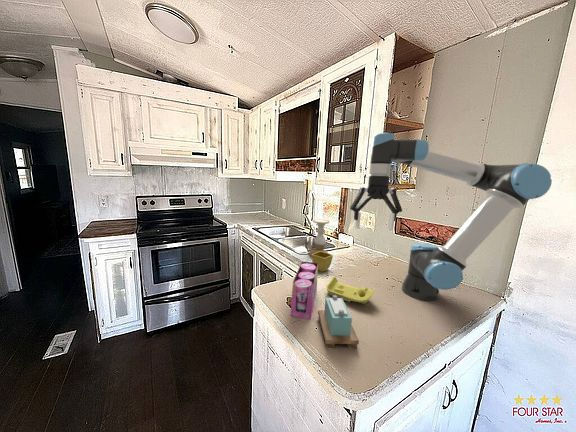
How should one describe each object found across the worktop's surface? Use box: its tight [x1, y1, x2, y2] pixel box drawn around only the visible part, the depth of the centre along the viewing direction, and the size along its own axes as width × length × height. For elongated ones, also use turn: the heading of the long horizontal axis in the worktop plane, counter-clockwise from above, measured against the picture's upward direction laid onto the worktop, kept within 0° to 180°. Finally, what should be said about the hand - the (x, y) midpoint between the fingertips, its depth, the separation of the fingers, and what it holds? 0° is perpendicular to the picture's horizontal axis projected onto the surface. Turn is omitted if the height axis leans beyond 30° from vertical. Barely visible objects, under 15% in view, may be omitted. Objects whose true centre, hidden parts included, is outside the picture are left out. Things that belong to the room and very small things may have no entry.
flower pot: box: [311, 251, 334, 273], centre depth 132 cm, size 9×9×9 cm
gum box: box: [290, 261, 319, 320], centre depth 96 cm, size 24×8×14 cm, turn 168°
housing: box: [324, 295, 353, 336], centre depth 79 cm, size 12×6×7 cm, turn 2°
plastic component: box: [326, 276, 376, 305], centre depth 103 cm, size 20×7×10 cm
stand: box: [317, 309, 360, 350], centre depth 80 cm, size 10×16×3 cm, turn 2°
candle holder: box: [307, 218, 330, 259], centre depth 151 cm, size 11×11×24 cm
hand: (373, 228), depth 96 cm, fingers open, 13 cm apart
